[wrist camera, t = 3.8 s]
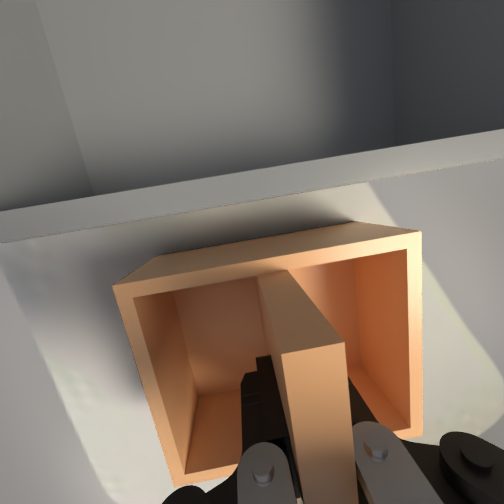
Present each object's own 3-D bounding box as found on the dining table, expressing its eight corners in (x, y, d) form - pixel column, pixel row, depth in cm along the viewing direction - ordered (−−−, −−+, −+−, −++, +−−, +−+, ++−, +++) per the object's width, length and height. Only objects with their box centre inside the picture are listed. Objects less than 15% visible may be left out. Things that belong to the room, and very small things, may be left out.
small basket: (356, 221, 14) (620, 260, 4) (365, 365, 16) (558, 603, 6) (156, 256, 14) (-35, 383, 4) (193, 398, 16) (127, 706, 6)
